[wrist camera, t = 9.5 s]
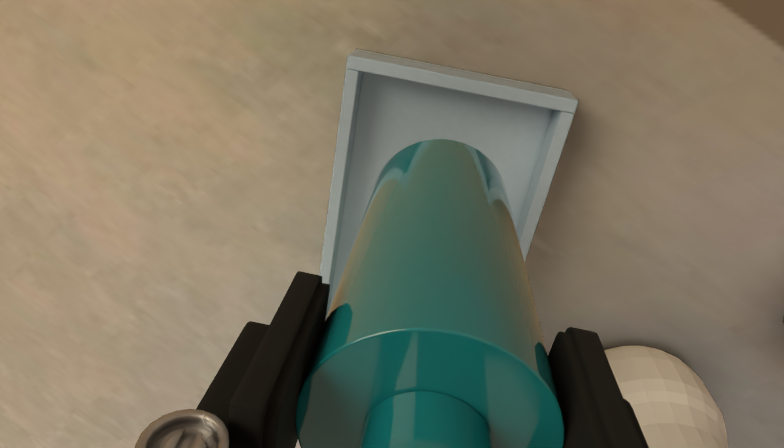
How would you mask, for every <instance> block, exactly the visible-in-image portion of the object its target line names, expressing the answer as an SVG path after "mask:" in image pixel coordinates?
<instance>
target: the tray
mask: <svg viewBox="0 0 784 448" xmlns="http://www.w3.org/2000/svg"><path fill="white" fill-rule="evenodd" d="M346 68H347V69H346V72H345V80H344V87H343V95H342V103H341V111H340V119H339V126H338V134H337V142H336V150H335V157H334V165H333V173H332V181H331V189H330V196H329V204H328V212H327V220H326V228H325V235H324V243H323V251H322V259H321V266H320V274H319V276H322V283H326V284H330V291H329V298H328V305H327V312H326V318H327V315H328V312H329V310H330V307H331V304H332V301H333V299H334V296H335V293H336V290H337V288H338V285H339V282H340V279H341V277H342V274H343V271H344V268H345V266H346V263H347V260H348V257H349V255H350V252H351V249H352V246H353V244H354V241H355V238H356V235H357V233H358V230H359V227H360V224H361V222H362V219H363V216H364V214H365V211H366V208H367V205H368V203H369V200H370V197H371V194H372V192H373V189H374V186H375V183H376V181H377V178H378V176H379V174H380V172H381V170H382V169H383V167H384V166H385V165H386V163H387V162H388V161H389V160H390V159H391V158H392V157H393V156H394V155H395V154H397V153H398V152H399V151H401V150H402V149H404V148H406V147H408V146H410V145H412V144H415V143H417V142H421V141H425V140H432V139H447V140H454V141H458V142H462V143H465V144H467V145H469V146H472V147H473V148H475V149H477V150H479V151H480V152H481V153H483V154H484V155H485V156H487V157H488V158H489V159H490V160H491V161H492V162H493V164H494V165H495V166H496V168H497V169H498V171H499V173H500V175H501V176H502V179H503V181H504V184H505V188H506V192H507V196H508V200H509V204H510V208H511V212H512V216H513V220H514V224H515V228H516V232H517V236H518V240H519V244H520V248H521V252H522V255H523V259H524V262H525V259H526V257H527V254H528V251H529V248H530V245H531V242H532V239H533V236H534V233H535V230H536V227H537V224H538V221H539V218H540V215H541V212H542V209H543V206H544V203H545V200H546V197H547V194H548V191H549V188H550V185H551V182H552V179H553V177H554V174H555V171H556V168H557V165H558V162H559V159H560V156H561V153H562V150H563V147H564V144H565V141H566V138H567V135H568V132H569V129H570V126H571V123H572V120H573V117H574V113H575V111H576V108H577V105H578V102H579V101H578V100H577V98H576V97H575V96H574V95H573V94H572V93H571V92H570V91H568V90H563V89H558V88H553V87H548V86H543V85H538V84H533V83H528V82H523V81H518V80H513V79H508V78H502V77H497V76H492V75H487V74H482V73H477V72H472V71H467V70H462V69H457V68H452V67H447V66H442V65H437V64H432V63H427V62H422V61H416V60H411V59H406V58H401V57H396V56H391V55H386V54H381V53H376V52H371V51H366V50H361V49H355V50H354V51H353V52H351V53H350V54H349V55H348V56H347V64H346ZM325 321H326V319H325Z"/></svg>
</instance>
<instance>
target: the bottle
mask: <svg viewBox="0 0 784 448" xmlns="http://www.w3.org/2000/svg"><path fill="white" fill-rule="evenodd" d="M604 352H605V354H606V357H607V359H608V362H609V364H610V367H611V369H612V372H613V374H614V377H615V379H616V382H617V384H618V386H619V389H620V391H621V394H622V396H623V399H626V400H627V401H628V402H629V403H630V405H631V406H632V408H633V410H634V413H635V415H636V418H637V420H638V422H639V425H640V427H641V430H642V432H643V435H644V437H645V439H646V442H647V444H648V447H649V448H728V445H727V441H728V439H727V433H726V427H725V423H724V419H723V415H722V413H721V412H720V410H719V408H718V407H717V405H716V403H715V402H714V400H713V398H712V397H711V395H710V393H709V392H708V390H707V388H706V387H705V385H704V384H703V382H702V380H701V379H700V378H699V377H698V376H697V375H696V374H695V373H694V372H693V371H692V369H691V368H690V367H688V366H687V365H686V364H685V363H684V362H682V361H681V360H680V359H679V358H677V357H675V356H673V355H671V354H668V353H666V352H664V351H662V350H659V349H656V348H651V347H646V346H620V347H616V348H611V349H606V350H604Z"/></svg>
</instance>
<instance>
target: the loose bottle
mask: <svg viewBox="0 0 784 448" xmlns="http://www.w3.org/2000/svg"><path fill="white" fill-rule="evenodd" d="M295 425H296V432H297V437H298V440H299V443H300V446H301V448H563V446H564V440H565V427H564V420H563V416H562V411H561V407H560V403H559V399H558V395H557V391H556V387H555V383H554V379H553V375H552V371H551V367H550V363H549V359H548V355H547V351H546V347H545V343H544V339H543V335H542V331H541V327H540V323H539V319H538V315H537V311H536V307H535V303H534V299H533V295H532V291H531V287H530V283H529V279H528V275H527V271H526V267H525V263H524V259H523V255H522V252H521V248H520V244H519V240H518V236H517V232H516V228H515V224H514V220H513V216H512V212H511V208H510V204H509V200H508V196H507V192H506V188H505V184H504V181H503V179H502V176H501V175H500V173H499V171H498V169H497V168H496V166H495V165H494V164H493V162H492V161H491V160H490V159H489V158H488V157H487V156H485V155H484V154H483V153H481V152H480V151H479V150H477V149H475V148H473V147H472V146H469V145H467V144H465V143H462V142H458V141H454V140H447V139H432V140H425V141H421V142H417V143H415V144H412V145H410V146H408V147H406V148H404V149H402V150H401V151H399V152H398V153H397V154H395V155H394V156H393V157H392V158H391V159H390V160H389V161H388V162H387V163H386V165H385V166H384V167H383V169H382V170H381V172H380V174H379V176H378V178H377V181H376V183H375V186H374V189H373V192H372V194H371V197H370V200H369V203H368V205H367V208H366V211H365V214H364V216H363V219H362V222H361V224H360V227H359V230H358V233H357V235H356V238H355V241H354V244H353V246H352V249H351V252H350V255H349V257H348V260H347V263H346V266H345V268H344V271H343V274H342V277H341V279H340V282H339V285H338V288H337V290H336V293H335V296H334V299H333V301H332V304H331V307H330V310H329V312H328V315H327V318H326V321H325V324H324V326H323V329H322V332H321V335H320V337H319V340H318V343H317V346H316V348H315V351H314V354H313V357H312V359H311V362H310V365H309V368H308V370H307V373H306V376H305V379H304V381H303V384H302V387H301V390H300V392H299V396H298V402H297V410H296V419H295Z"/></svg>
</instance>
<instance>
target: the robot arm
mask: <svg viewBox="0 0 784 448" xmlns="http://www.w3.org/2000/svg"><path fill="white" fill-rule="evenodd" d="M329 291H330V284H326V283H322V276H319V275H314V274H309V273H304V272H297V274H296V275H295V277H294V279H293V281H292V283H291V285H290V287H289V289H288V291H287V293H286V295H285V297H284V299H283V301H282V302H281V304H280V306H279V308H278V310H277V312H276V314H275V316H274V318H273V320H272V322H271V324H270V325H266V324H261V323H256V322H251V321H250V322H248V323H247V324H246V326H245V327H244V329H243V330H242V332H241V334H240V335H239V337H238V339H237V340H236V342H235V344H234V346H233V347H232V349H231V351H230V352H229V354H228V356H227V358H226V359H225V361H224V363H223V364H222V366H221V368H220V369H219V371H218V373H217V375H216V376H215V378H214V380H213V381H212V383H211V385H210V386H209V388H208V390H207V392H206V393H205V395H204V397H203V398H202V400H201V402H200V404H199V405H198V407H197V409H196V410H194V409H187V410H179V411H175V412H172V413H169V414H166V415H163V416H162V417H160V418H158V419H157V420H155V421H154V422H152V423H151V424H150V425H149V426H148V427H147V428H146V429H145V430H144V431H143V432H142V433H141V435H140V437H139V439H138V441H137V443H136V445H135V448H295V446H296V443H297V440H298V437H297V432H296V425H295V419H296V410H297V402H298V396H299V392H300V390H301V387H302V384H303V381H304V379H305V376H306V373H307V370H308V368H309V365H310V362H311V359H312V357H313V354H314V351H315V348H316V346H317V343H318V340H319V337H320V335H321V332H322V329H323V326H324V324H325V319H326V312H327V305H328V298H329ZM548 359H549V363H550V367H551V371H552V375H553V379H554V383H555V387H556V391H557V395H558V399H559V403H560V407H561V411H562V416H563V420H564V427H565V440H564V446H563V448H649V447H648V444H647V442H646V439H645V437H644V435H643V432H642V430H641V427H640V425H639V422H638V420H637V418H636V415H635V413H634V410H633V408H632V406H631V405H630V403H629V402H628V401H627V400H626V399H623V396H622V394H621V391H620V389H619V386H618V384H617V382H616V379H615V377H614V374H613V372H612V369H611V367H610V364H609V362H608V359H607V357H606V354H605V352H604V349H603V347H602V344H601V342H600V339H599V337H598V335H597V333H595V332H592V331H587V330H582V329H577V328H572V327H570V328H568V329H567V330H566V332H565V333H564V332H559V333H558V334H557V336H556V338H555V340H554V343H553V345H552V348H551V350H550V353H549V355H548Z"/></svg>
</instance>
